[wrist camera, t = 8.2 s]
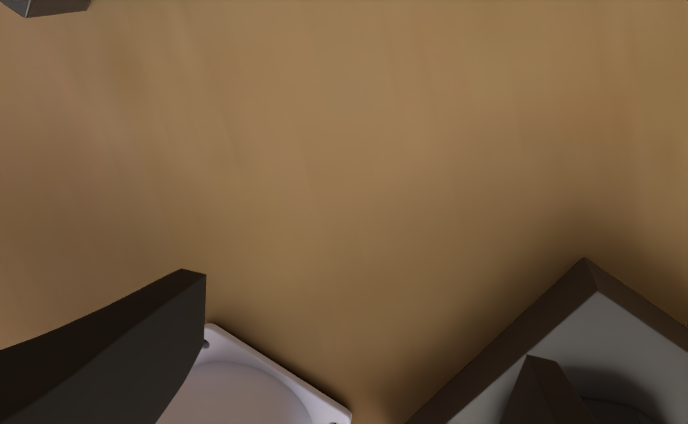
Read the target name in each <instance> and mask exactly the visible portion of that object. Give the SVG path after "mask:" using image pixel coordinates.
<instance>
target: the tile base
mask: <svg viewBox="0 0 688 424" xmlns="http://www.w3.org/2000/svg"><path fill="white" fill-rule="evenodd" d="M89 1H90V0H0V2H1V3H3V4H4V5H6V6H7V7H9V8H10V9H12V10H13V11H15V12H16V13H18V14H19V15H21V16H22V17H24V18H32V17H40V16H48V15H56V14H64V13H72V12H79V11H86V10H87V7H88V4H89Z"/></svg>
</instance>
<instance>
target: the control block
mask: <svg viewBox="0 0 688 424" xmlns="http://www.w3.org/2000/svg"><path fill="white" fill-rule="evenodd" d="M527 354H528V355H532V356H537V357H541V358H545V359H549V360H553V361H556V362H557V363H558V365H559V366H560V368H561V369H562V371H563V372H564V374H565V375H566V377H567V378H568V380H569V381H570V383H571V384H572V386H573V387H574V389H575V390H576V392H577V393H578V395H579V396H580V398H581V399H582V401H583V402H584V404H585V405H586V407H587V408H588V410H589V411H590V413H591V414H592V416H593V417H594V419H595V420H596V421H597V423H598V424H688V329H687V328H686V327H685V326H683V325H682V324H680V323H679V322H677V321H676V320H674V319H673V318H672V317H670V316H669V315H667V314H666V313H664V312H663V311H662V310H660V309H659V308H657V307H656V306H654V305H653V304H651V303H650V302H649V301H647V300H646V299H644V298H643V297H641V296H640V295H638V294H637V293H636V292H634V291H633V290H631V289H630V288H628V287H627V286H626V285H624V284H623V283H621V282H620V281H618V280H617V279H615V278H614V277H613V276H611V275H610V274H608V273H607V272H605V271H604V270H602V269H601V268H600V267H598V266H597V265H595V264H594V263H592V262H591V261H590V260H588V259H587V258H585V257H584V258H582V259H581V260H580V261H579V262H578V263H577V264H576V265H575V266H574V267H573V268H572V269H571V270H570V271H568V272H567V273H566V274H565V275H564V276H563V277H562V278H561V279H560V280H559V281H558V282H557V283H556V284H554V285H553V286H552V287H551V288H550V289H549V290H548V291H547V292H546V293H545V294H544V295H543V296H542V297H540V298H539V299H538V300H537V301H536V302H535V303H534V304H533V305H532V306H531V307H530V308H529V309H528V310H526V311H525V312H524V313H523V314H522V315H521V316H520V317H519V318H518V319H517V320H516V321H515V322H514V323H512V324H511V325H510V326H509V327H508V328H507V329H506V330H505V331H504V332H503V333H502V334H501V335H500V336H499V337H497V338H496V339H495V340H494V341H493V342H492V343H491V344H490V345H489V346H488V347H487V348H486V349H485V350H483V351H482V352H481V353H480V354H479V355H478V356H477V357H476V358H475V359H474V360H473V361H472V362H471V363H469V364H468V365H467V366H466V367H465V368H464V369H463V370H462V371H461V372H460V373H459V374H458V375H457V376H455V377H454V378H453V379H452V380H451V381H450V382H449V383H448V384H447V385H446V386H445V387H444V388H443V389H441V390H440V391H439V392H438V393H437V394H436V395H435V396H434V397H433V398H432V399H431V400H430V401H429V402H427V403H426V404H425V405H424V406H423V407H422V408H421V409H420V410H419V411H418V412H417V413H416V414H415V415H413V416H412V417H411V418H410V419H409V420H408V421H407V422H406V423H405V424H500V421H501V418H502V416H503V413H504V411H505V408H506V406H507V403H508V400H509V398H510V395H511V393H512V390H513V388H514V385H515V383H516V380H517V378H518V375H519V373H520V370H521V368H522V365H523V362H524V360H525V357H526V355H527Z"/></svg>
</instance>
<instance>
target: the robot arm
mask: <svg viewBox="0 0 688 424" xmlns="http://www.w3.org/2000/svg"><path fill="white" fill-rule="evenodd" d="M205 299H206V274H202V273H198V272H194V271H190V270H186V269H182V268H181V269H179V270H177V271H175V272H173V273H171V274H169V275H167V276H165V277H163V278H161V279H159V280H157V281H155V282H153V283H151V284H149V285H147V286H145V287H143V288H141V289H139V290H138V291H136V292H134V293H132V294H130V295H128V296H126V297H124V298H122V299H120V300H118V301H116V302H114V303H112V304H110V305H108V306H106V307H104V308H102V309H100V310H97V311H95V312H93V313H91V314H88V315H86V316H84V317H82V318H80V319H77V320H75V321H73V322H71V323H69V324H66V325H64V326H62V327H60V328H58V329H55V330H53V331H50V332H48V333H45V334H43V335H40V336H38V337H35V338H33V339H30V340H27V341H25V342H22V343H19V344H16V345H14V346H11V347H8V348H5V349H2V350H0V424H334V423H332V422H335V423H337V424H351V420H352V414H351V412H350V411H349V410H348V409H347V408H345V407H343V406H342V405H340V404H339V403H337V402H336V401H334V400H333V399H331V398H329V397H328V396H326V395H325V394H323V393H322V392H320V391H319V390H317V389H315V388H314V387H312V386H311V385H309V384H308V383H306V382H304V381H303V380H301V379H300V378H298V377H297V376H295V375H294V374H292V373H290V372H289V371H287V370H286V369H284V368H283V367H281V366H279V365H278V364H276V363H275V362H273V361H272V360H270V359H269V358H267V357H265V356H264V355H262V354H261V353H259V352H258V351H256V350H254V349H253V348H251V347H250V346H248V345H247V344H245V343H244V342H242V341H240V340H239V339H237V338H236V337H234V336H233V335H231V334H229V333H228V332H226V331H225V330H223V329H222V328H220V327H219V326H217V325H215V324H213V323H207V324H205ZM204 340H207V341H208V342H209V343H207V342H205V341H204ZM500 424H598V423H597V421H596V420H595V419H594V417H593V416H592V414H591V413H590V411H589V410H588V408H587V407H586V405H585V404H584V402H583V401H582V399H581V398H580V396H579V395H578V393H577V392H576V390H575V389H574V387H573V386H572V384H571V383H570V381H569V380H568V378H567V377H566V375H565V374H564V372H563V371H562V369H561V368H560V366H559V365H558V363H557V362H556V361H553V360H549V359H545V358H541V357H537V356H532V355H528V354H527V355H526V357H525V360H524V362H523V365H522V368H521V370H520V373H519V375H518V378H517V380H516V383H515V385H514V388H513V390H512V393H511V395H510V398H509V400H508V403H507V406H506V408H505V411H504V413H503V416H502V418H501V421H500Z"/></svg>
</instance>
